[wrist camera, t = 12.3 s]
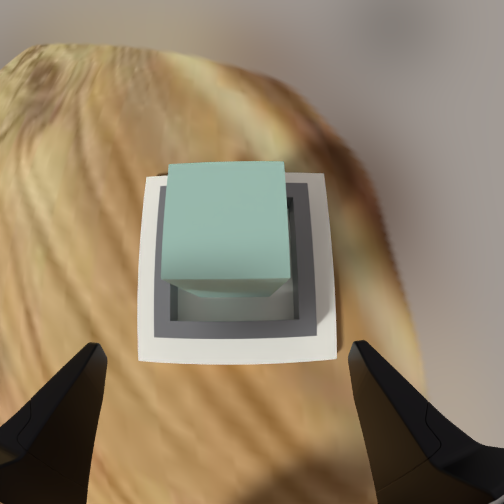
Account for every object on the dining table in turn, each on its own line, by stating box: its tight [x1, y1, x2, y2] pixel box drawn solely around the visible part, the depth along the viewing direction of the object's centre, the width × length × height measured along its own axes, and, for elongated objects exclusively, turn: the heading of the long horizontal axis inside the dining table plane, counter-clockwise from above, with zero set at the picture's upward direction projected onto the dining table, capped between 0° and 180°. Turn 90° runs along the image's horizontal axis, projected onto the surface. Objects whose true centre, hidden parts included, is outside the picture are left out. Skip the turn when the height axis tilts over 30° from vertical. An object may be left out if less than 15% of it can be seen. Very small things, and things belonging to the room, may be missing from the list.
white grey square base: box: [138, 172, 337, 364], centre depth 18 cm, size 13×13×3 cm
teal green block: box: [161, 161, 290, 297], centre depth 15 cm, size 4×4×9 cm
